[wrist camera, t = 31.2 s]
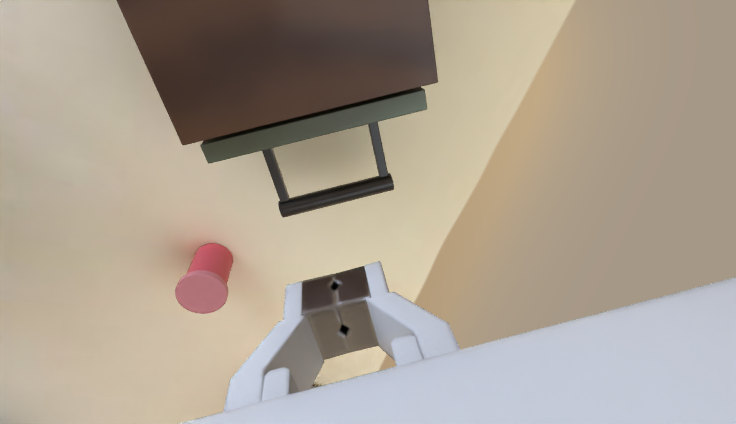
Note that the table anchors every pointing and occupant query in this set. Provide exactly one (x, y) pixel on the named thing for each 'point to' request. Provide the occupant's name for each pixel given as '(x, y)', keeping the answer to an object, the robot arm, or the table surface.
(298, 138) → the drawer
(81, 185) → the table surface
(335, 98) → the cabinet
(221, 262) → the red short cylinder
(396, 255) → the table surface
